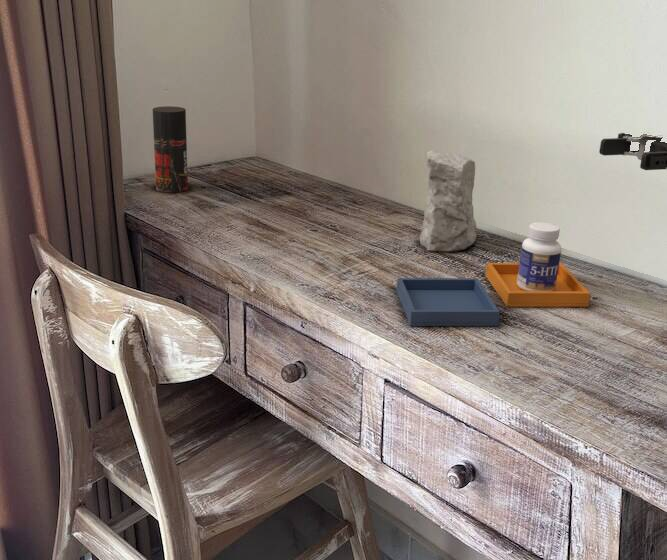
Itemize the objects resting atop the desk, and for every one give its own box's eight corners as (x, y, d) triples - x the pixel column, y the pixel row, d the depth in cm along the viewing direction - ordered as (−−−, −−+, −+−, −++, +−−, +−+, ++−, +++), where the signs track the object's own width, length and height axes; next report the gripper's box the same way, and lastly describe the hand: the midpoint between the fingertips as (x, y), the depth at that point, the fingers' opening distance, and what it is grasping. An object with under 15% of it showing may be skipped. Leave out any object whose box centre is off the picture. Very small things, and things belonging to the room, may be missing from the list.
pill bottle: (527, 295, 110) (536, 233, 107) (510, 281, 115) (517, 221, 112) (562, 293, 112) (571, 231, 108) (543, 279, 116) (552, 219, 113)
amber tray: (588, 306, 109) (590, 293, 108) (506, 306, 108) (508, 292, 107) (560, 275, 119) (562, 263, 118) (485, 275, 118) (486, 262, 117)
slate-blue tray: (498, 326, 102) (500, 311, 101) (410, 326, 101) (411, 311, 100) (476, 291, 112) (478, 278, 112) (396, 291, 111) (397, 277, 111)
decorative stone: (477, 255, 126) (487, 163, 121) (418, 251, 127) (425, 159, 122) (475, 235, 135) (484, 148, 130) (420, 230, 136) (427, 144, 131)
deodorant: (156, 184, 157) (153, 106, 151) (187, 184, 158) (185, 106, 152) (155, 192, 152) (151, 112, 146) (187, 192, 153) (185, 112, 147)
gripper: (686, 113, 118) (593, 116, 113) (764, 133, 106) (663, 136, 101) (676, 164, 121) (584, 169, 116) (751, 189, 109) (652, 195, 103)
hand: (621, 154), depth 108 cm, fingers open, 8 cm apart
